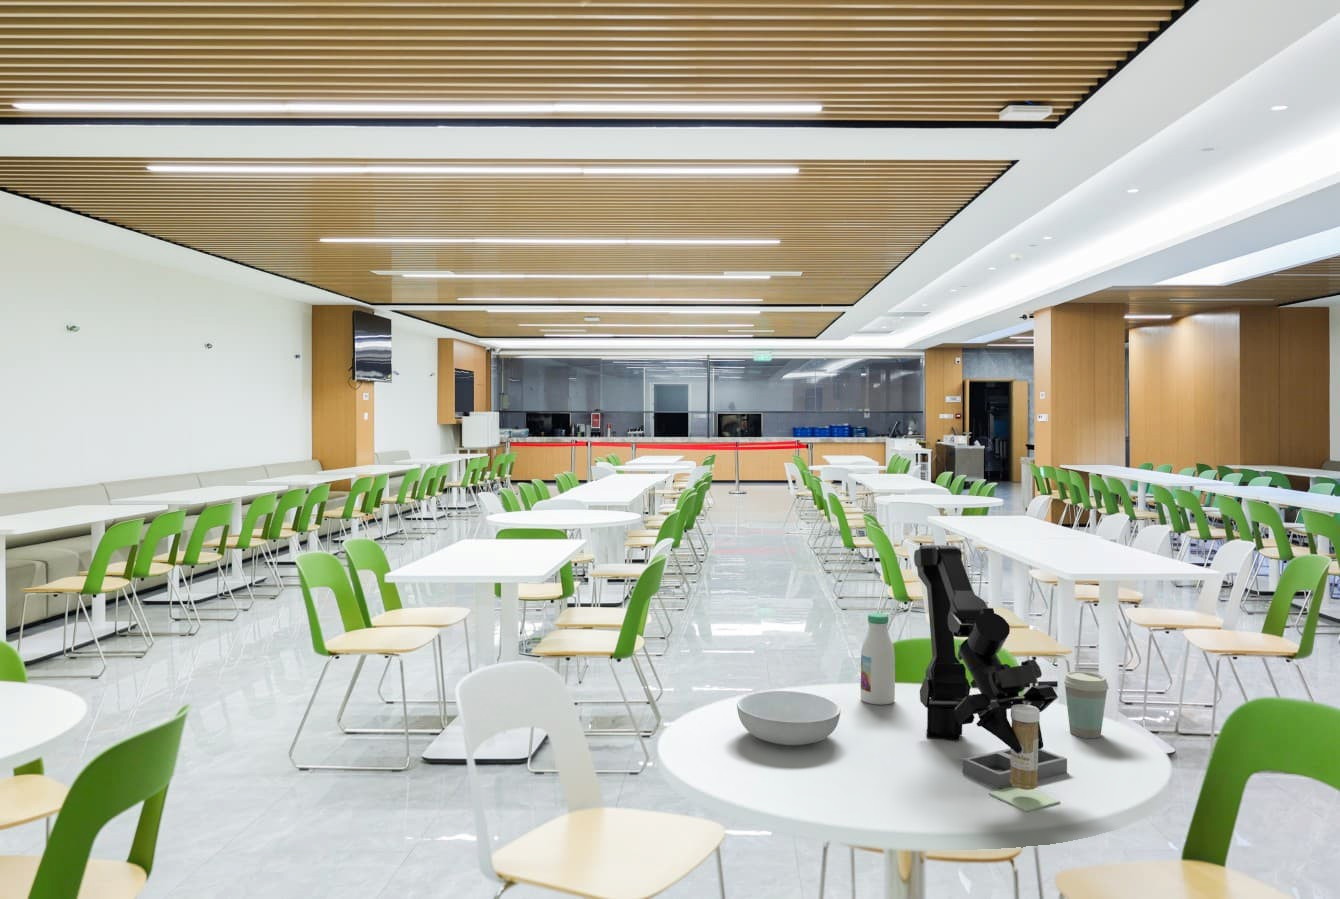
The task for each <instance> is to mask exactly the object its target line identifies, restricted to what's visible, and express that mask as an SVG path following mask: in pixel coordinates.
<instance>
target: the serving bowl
mask: <svg viewBox="0 0 1340 899" xmlns="http://www.w3.org/2000/svg"><path fill="white" fill-rule="evenodd" d="M736 709H737V714H738V719H739V721H740V722H741V725H742V726H743V727H744V728H745V730H747V732H749V734H751V735H752V736H754V737H756V738H757V739H760V740H762V741H766V742H768V743H769V742H770V743H773V744H776V745H780V746H781V745H782V746H790V745H793V746H801V745H808V744H809V745H810V744H813V743H817V742H820V741H822V740H825V739H826V738H828V737H829V736H830V735H831V734H832V733H833V732H834V731H835V729H836V728H837V726H838V724H839V720H840V716H841V707H840V705H839V704H838V703H836V702H834V701H833V700H831V699H830V698H827V697H825V696H820V695H817V694H813V693H809V692H808V693H807V692H800V691H791V690H769V691H767V690H766V691H761V692H755V693H754V692H753V693H751V694H747V695H745V696H742V697H741V698H739V699H738V701H737V702H736Z"/></svg>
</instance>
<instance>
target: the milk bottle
mask: <svg viewBox="0 0 1340 899" xmlns="http://www.w3.org/2000/svg"><path fill="white" fill-rule="evenodd" d="M867 624H868V629H867V633H866V636H865V638H864V640H863V642H862V646H861V652H860V654H861V655H860V699H861V701H863V702H864V703H866V704H871V705H878V706H879V705H881V706H884V705H890V704H893V703H894V702H895V699H896V698H895V696H896V695H895V692H896V690H895V688H896V683H895V682H896V665H895V664H896V657H895V656H896V655H895V647H894V644H893V641H892V639H891V637H890V634H889V631H888V625H889V616H888V615H887V614H885V613H869V614H868V616H867Z"/></svg>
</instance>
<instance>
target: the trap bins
mask: <svg viewBox="0 0 1340 899" xmlns="http://www.w3.org/2000/svg"><path fill="white" fill-rule="evenodd" d="M1010 757H1011V748H1010V747H1009V748H1006V749H1001V750H996V751H992V752H987V753H983V754H980V755H978V754H977V755H974V756H970V757H965V758H962V768H961V769H962V773H963V774H965V775H967V776H970V777H972V778H973V779H976V780H979V781H980V782H983V783H985V784H988V785H990V786H991V787H994V788H997V789H998V790H1001V789H1006V788H1010V787H1014V786H1013V785H1011V783H1010V778H1011V764H1010ZM1067 772H1068V758H1066V757H1063V756H1061V755H1058V754H1056V753H1053V752H1052V751H1051V752H1050V751H1047V750H1045V749H1043V748H1041V749H1038V769H1037V780H1040V779H1045V778H1049V777H1053V776H1058V775H1061V774H1065V773H1067Z"/></svg>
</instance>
